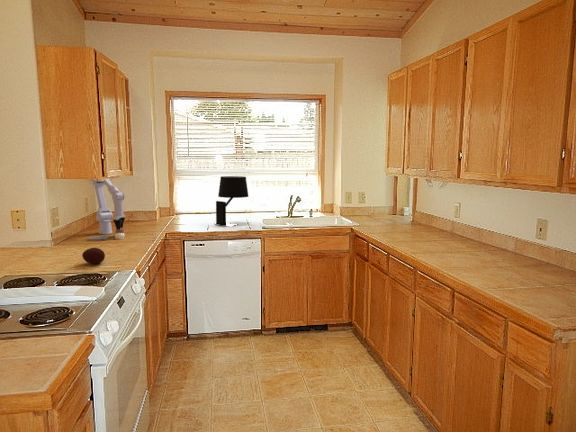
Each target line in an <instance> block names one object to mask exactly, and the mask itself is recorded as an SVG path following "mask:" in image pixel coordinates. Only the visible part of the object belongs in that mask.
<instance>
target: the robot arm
mask: <svg viewBox="0 0 576 432" xmlns="http://www.w3.org/2000/svg"><path fill="white" fill-rule="evenodd" d="M91 181H92V185H93V186H94V191H95V195H96V199H97V204H98V209H97V211H96V216H95V217H96V220H97V221H98V222H99V232H98V233H97V234H98V235H110V234H113V232H114V231H113V230H112V223H111V222H112V221H113V223H114V226H115V228H116V229H117V230H120V229H124V222H125V220H126V215H125V214H124V200H125V194H124V192H122V191H120V190H119V188H118V187H117V186H116V185H115V184H113V183H112V182H111V180H110V177H109V178H108V179H105V180H104V181H96V180H93V179H92V178H91ZM104 185H105V186H106V187H107V191H108V193H109V194H110V195H111V199H112V203H113V206H114V209H113V210H114V214H113V213H112V210H111V208H110V207H108V206H107V202H106V201H107V200H106V197H105V192H104V189H103V186H104ZM113 218H114V219H113ZM116 229H115V230H116Z"/></svg>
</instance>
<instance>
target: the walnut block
mask: <svg viewBox="0 0 576 432" xmlns="http://www.w3.org/2000/svg"><path fill="white" fill-rule="evenodd" d="M124 230H125V229H124V228H120V230H117V229H115V234H116V233H124V234H125V231H124Z"/></svg>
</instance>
